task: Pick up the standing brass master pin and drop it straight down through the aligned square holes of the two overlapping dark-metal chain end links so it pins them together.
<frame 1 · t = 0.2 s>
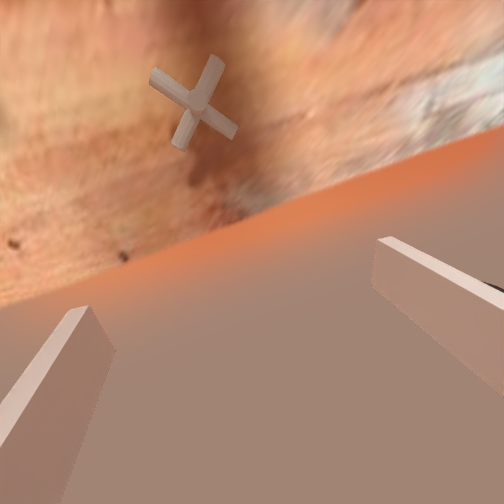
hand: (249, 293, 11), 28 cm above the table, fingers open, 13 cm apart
pipe connector: (196, 110, 31), on the table
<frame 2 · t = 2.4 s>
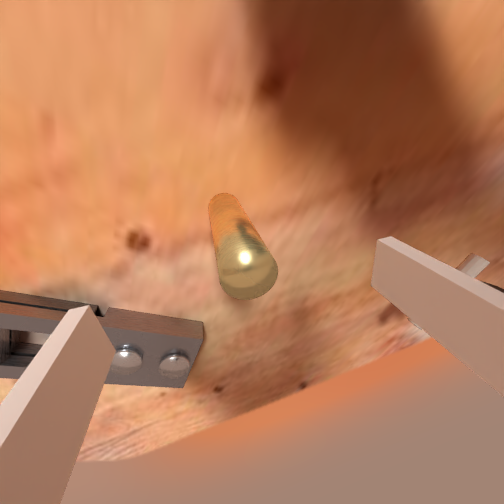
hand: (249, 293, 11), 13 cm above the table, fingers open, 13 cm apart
chain end a: (47, 329, 24), on the table
chain end b: (47, 329, 24), on the table
pipe connector: (409, 269, 31), on the table
master pin: (224, 208, 22), on the table
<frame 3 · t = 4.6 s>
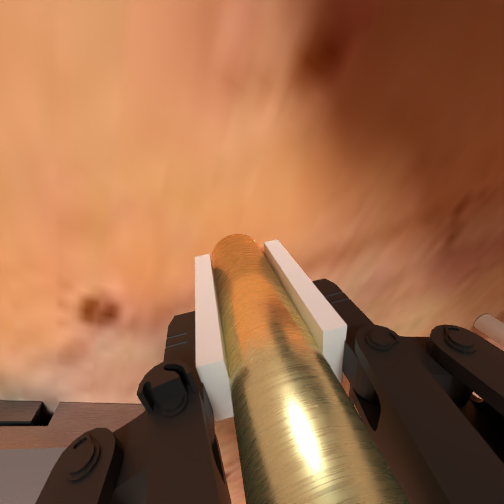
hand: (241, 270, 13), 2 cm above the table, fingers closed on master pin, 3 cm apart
pipe connector: (479, 319, 23), on the table
master pin: (236, 257, 14), on the table, touching gripper
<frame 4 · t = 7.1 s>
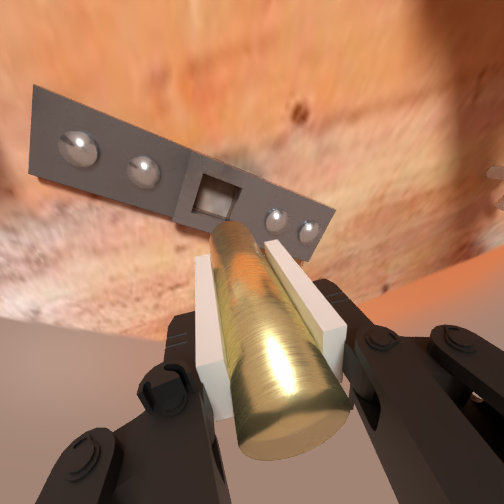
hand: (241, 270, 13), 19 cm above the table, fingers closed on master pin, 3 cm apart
chain end a: (214, 195, 29), on the table
chain end b: (214, 195, 29), on the table
pipe connector: (489, 171, 37), on the table
master pin: (230, 241, 16), point 14 cm above the table, touching gripper
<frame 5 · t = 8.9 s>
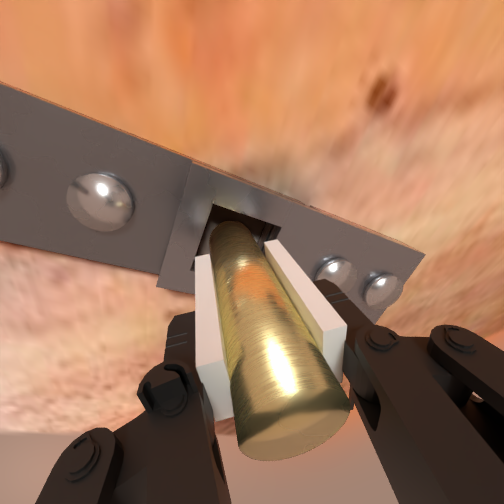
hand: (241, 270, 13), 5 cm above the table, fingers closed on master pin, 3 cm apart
chain end a: (230, 233, 17), on the table
chain end b: (230, 233, 17), on the table
master pin: (230, 241, 16), point 1 cm above the table, touching gripper
when the fingers open (4 cm above the table, at t = 9.8 s): master pin stays where it is, resting in chain end a.
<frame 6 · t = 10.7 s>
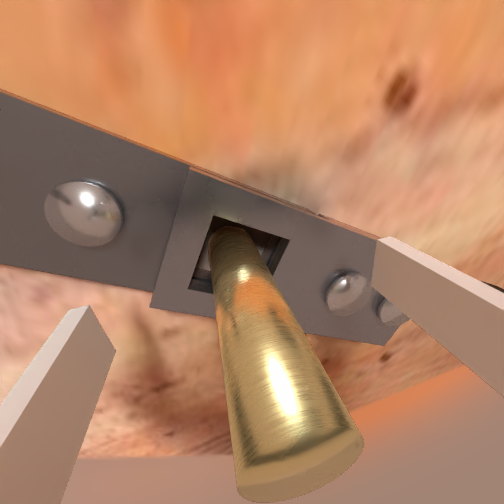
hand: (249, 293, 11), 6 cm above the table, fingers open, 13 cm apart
chain end a: (232, 245, 16), on the table
chain end b: (232, 245, 16), on the table
master pin: (230, 246, 16), resting in chain end a
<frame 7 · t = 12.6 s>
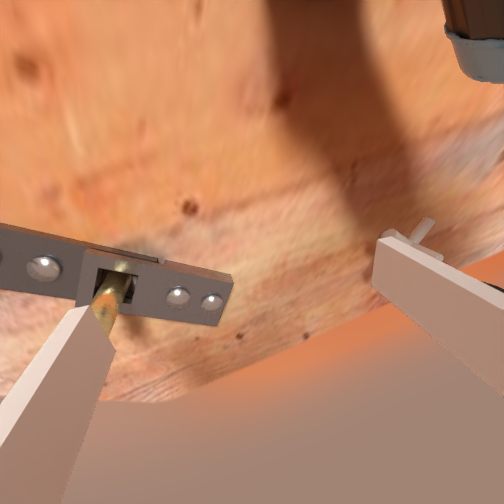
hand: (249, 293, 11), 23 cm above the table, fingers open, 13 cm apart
chain end a: (120, 276, 32), on the table
chain end b: (120, 276, 32), on the table
pipe connector: (383, 235, 42), on the table
master pin: (119, 277, 33), resting in chain end a
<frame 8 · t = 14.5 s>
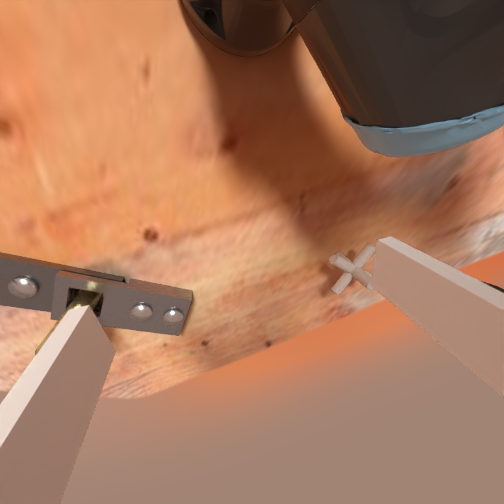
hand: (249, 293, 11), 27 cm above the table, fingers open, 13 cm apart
chain end a: (91, 292, 37), on the table
chain end b: (91, 292, 37), on the table
pipe connector: (337, 256, 45), on the table
master pin: (91, 293, 37), resting in chain end a
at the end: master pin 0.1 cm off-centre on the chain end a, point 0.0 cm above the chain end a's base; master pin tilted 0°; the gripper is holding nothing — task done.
